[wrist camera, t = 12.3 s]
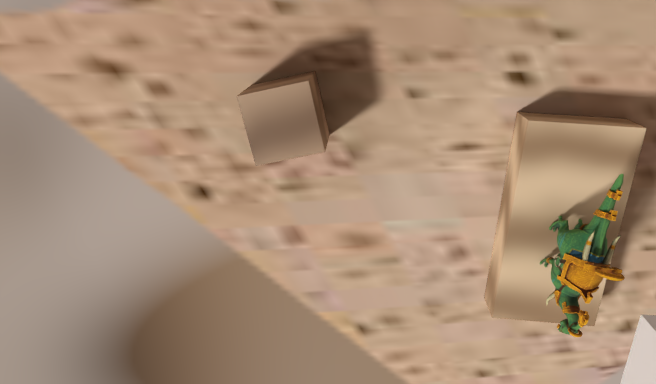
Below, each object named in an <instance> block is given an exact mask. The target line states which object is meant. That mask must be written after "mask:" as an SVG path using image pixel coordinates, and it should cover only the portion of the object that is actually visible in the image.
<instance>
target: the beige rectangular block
mask: <svg viewBox="0 0 656 384" xmlns="http://www.w3.org/2000/svg"><path fill="white" fill-rule="evenodd" d="M645 132H646V128H645V127H643V126H641V125H639V124H636V123H634V122H632V121H630V120H628V119H620V118H604V117H589V116H573V115H557V114H542V113H526V112H517V115H516V121H515V126H514V132H513V138H512V143H511V149H510V155H509V160H508V166H507V172H506V177H505V183H504V189H503V194H502V200H501V206H500V211H499V217H498V223H497V228H496V234H495V240H494V246H493V251H492V257H491V263H490V268H489V274H488V280H487V285H486V291H485V297H484V298H485V301H486V303H487V306H488V309H489V311H490V314H491V316H492V318H503V319H515V320H527V321H539V322H551V323H560V321H562V320H564V319H567V317H566V315H565V314H564V313H563V312H562V309H561V307H559V306H557V304H556V300H555V298H554V299H551V300H550V301H549V302H548V304H547V305H546V300H547V298H548V297H549V295H550V294H551V293H553V292H554V291H555V286H554V284H553V283H552V280H551V268H552V264H549V263H548V266H547V267H545V266H544V264H545V262H544V263H543V264H541V265H540V262H541V261H542V260H544V259H545V258H549V257H553V258H555V257H556V256H557V255H558V254H559V253H560V250H559V248H558V245H557V234H558V228H557V230H556V231H555V232H553V228H554V227H553V228H552V230H549V227H550V226H551V225H552V223H553V222H556V221H558V220H559V216H562V221H563V220H568V225H569V230H572V229H574V227H575V226H576V225H577V224H578V223H579V222H578V220H579V219H581V220H582V223H583V224H589V223H590V222H591V220H592V218H593V217H594V214H593V213H594V212H595V211H596V209H599V207H600V206H601V204H602V203H603V201H604V199H605V198H606V196H607V195H606V194H607V192H608V190H609V189H611V187H612V185H613V184H614V182H615V180H616V179H617V177H618V176H619V175H620V174H624V178H623V184H622V186H621V189H620V190H621V191H623V193H622V196H621V198H620V200H619V201H618V200H616V203H615V206H614V211H618V212H617V216H616V221H610V224H609V227H608V230H607V233H606V238H607V248H608V249H609V247H610V245H611V243H612V242H613V240H614V239H615V238H617V237H618V234H619V231H620V227H621V223H622V219H623V215H624V212H625V208H626V204H627V200H628V196H629V193H630V189H631V185H632V181H633V178H634V174H635V170H636V166H637V162H638V159H639V155H640V151H641V147H642V143H643V140H644V136H645ZM612 257H613V255H612ZM611 261H612V258H611V260H610V262H609V264H610V265H611ZM606 280H607V279H606V278H603V280H602V281H601V283H600V284H599V286H598V287H599V289H598V290H597V291H596V292H594V293H592V296H593V299H592V300H591V302H590V303H589V304H588V303H585V301H584V299H583V298H582V296H581V297H580V298H579V300H578V303H579V304H580V310H582V311H587V312H588V315H589V320H588V322H587V324H586V325H588V326H594V325H595V321H596V318H597V314H598V310H599V306H600V302H601V299H602V295H603V291H604V287H605V283H606Z"/></svg>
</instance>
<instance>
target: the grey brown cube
mask: <svg viewBox="0 0 656 384" xmlns="http://www.w3.org/2000/svg"><path fill="white" fill-rule="evenodd" d="M237 100H238V103H239V107H240V111H241V114H242V118H243V121H244V125H245V129H246V132H247V136H248V139H249V143H250V147H251V150H252V154H253V157H254V161H255V165H256V166H257V165H262V164H267V163H272V162H278V161H283V160H288V159H293V158H298V157H303V156H308V155H313V154H318V153H323V152H325V150H326V146H327V143H328V139H329V135H330V134H329V130H328V126H327V121H326V117H325V112H324V108H323V103H322V99H321V95H320V90H319V86H318V81H317V77H316V72H315V71H313V72H309V73H304V74H300V75H295V76H290V77H286V78H281V79H277V80H272V81H268V82H263V83H258V84H254V85H251V86H250V87H248V88H247V89H246V90H244V91H243V92H242V93H240V94H239V95H238V96H237Z"/></svg>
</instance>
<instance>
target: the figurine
mask: <svg viewBox="0 0 656 384" xmlns="http://www.w3.org/2000/svg"><path fill="white" fill-rule="evenodd" d="M623 178H624V174H620V175H619V176H618V177H617V179H616V180H615V182H614V184H613V185H612V187H611V189H609V190H608V192H607V194H606V195H607V196H606V198H605V199H604V201H603V203H602V204H601V206H600V207H599V209H596V211H595V212H594V213H593V214H594V217H593V218H592V220H591V222H590V223H589V224H583V223H582V220H581V219H579V220H578V222H579V223H578V224H577V225H576V226H575V227H574V229H572V230H569V225H568V220H563V221H562V216H559V220H558V221H556V222H553V223H552V225H551V226H550V227H549V230H552V228H553V227H554V228H553V232H555V231H556V230H557V228H558V234H557V245H558V248H559V250H560V253H559V254H558V255H557V256H556V257H555V258H553V257H549V258H545V259H544V260H542V261H541V262H540V265H541V264H543V263H544V262H545V264H544V266H545V267H547V266H548V263H549V264H552V268H551V280H552V283H553V284H554V286H555V291H554V292H553V293H551V294H550V295H549V297H548V298H547V300H546V305H547V304H548V302H549V301H550V300H551V299H554V298H555V300H556V304H557V306H559V307H561V309H562V312H563V313H564V314H565V315H566V317H567V319H564V320H562V321H560V324H561V326H560V324H558V325H557V328H558V330H559V331H560V332H563V333H565V334H571V335H572V336H574V337H581V336H582V332H581V331H580V330H579V328H580V327H583V326H584V325H586V324H587V322H588V320H589V315H588V312H587V311H582V310H580V304H579V303H578V300H579V298H580V297H581V296H582V298H583V299H584V301H585V303H588V304H589V303H590V302H591V300H592V299H593V296H592V293H594V292H596V291H597V290H598V289H599V287H598V286H599V284H600V283H601V281H602V280H603V278H606V279H609V280H614V281H622V280H623V279H624V276H623V275H622V274H621V273H622V270H621V269H618V268H615V267H612V268H610V264H609V262H610V260H611V258H612V255H613V253H614V250H615V246H616V243H617V241H618V239H619V238H620V236H619V237H617V238H615V239H614V240H613V242H612V243H611V245H610V247H609V249H608V248H607V238H606V233H607V230H608V227H609V224H610V221H616V216H617V212H618V211H614V206H615V203H616V200H618V201H619V200H620V198H621V196H622V193H623V191H621V190H620V189H621V186H622V184H623ZM576 333H579V334H576Z"/></svg>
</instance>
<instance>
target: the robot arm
mask: <svg viewBox="0 0 656 384" xmlns="http://www.w3.org/2000/svg"><path fill="white" fill-rule="evenodd" d="M621 384H656V316H654V315H641V316H640V320H639V323H638V326H637V330H636V333H635V336H634V340H633V343H632V347H631V350H630V353H629V357H628V360H627V363H626V367H625V370H624V373H623V377H622V380H621Z"/></svg>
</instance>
